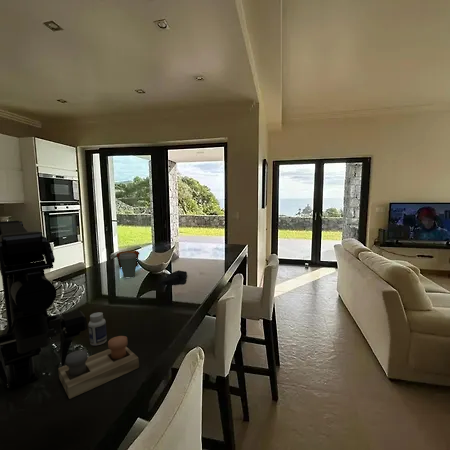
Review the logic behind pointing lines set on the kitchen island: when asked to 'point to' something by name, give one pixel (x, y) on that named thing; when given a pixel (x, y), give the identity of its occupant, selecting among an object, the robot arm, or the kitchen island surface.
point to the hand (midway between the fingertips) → (36, 373)
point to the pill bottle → (97, 329)
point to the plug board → (97, 372)
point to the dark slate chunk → (175, 278)
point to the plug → (76, 362)
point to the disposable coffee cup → (128, 264)
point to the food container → (126, 252)
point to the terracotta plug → (118, 347)
